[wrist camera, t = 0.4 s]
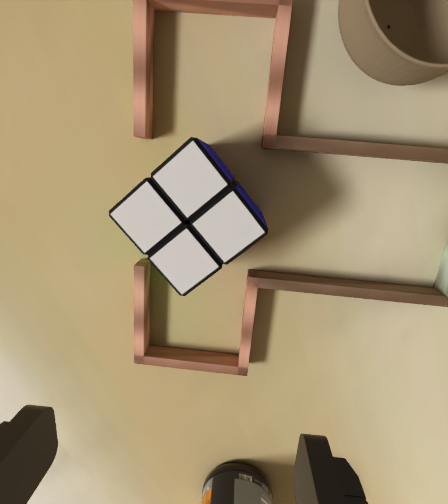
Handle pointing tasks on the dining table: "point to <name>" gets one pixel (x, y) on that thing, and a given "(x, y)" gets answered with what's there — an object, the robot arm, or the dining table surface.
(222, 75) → the dining table surface
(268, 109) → the bent wall strips
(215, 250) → the puzzle cube
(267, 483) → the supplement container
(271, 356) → the dining table surface
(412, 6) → the bowl
